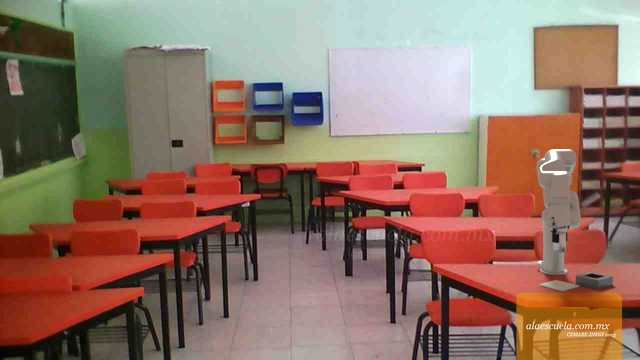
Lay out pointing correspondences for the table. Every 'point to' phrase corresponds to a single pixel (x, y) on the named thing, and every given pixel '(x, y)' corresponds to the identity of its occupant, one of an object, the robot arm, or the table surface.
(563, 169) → the robot arm
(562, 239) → the end cover
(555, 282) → the sage mat
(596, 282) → the bore housing
